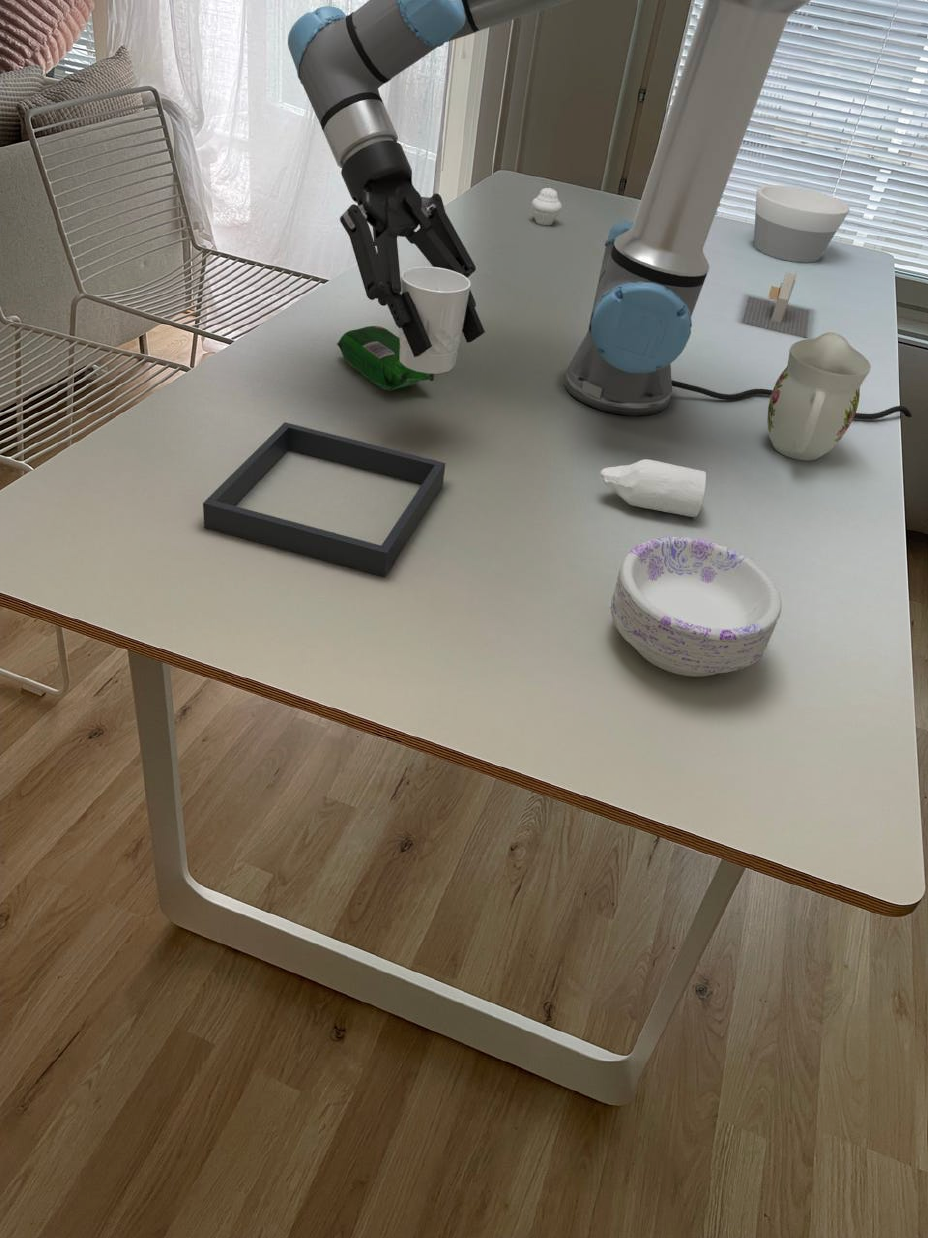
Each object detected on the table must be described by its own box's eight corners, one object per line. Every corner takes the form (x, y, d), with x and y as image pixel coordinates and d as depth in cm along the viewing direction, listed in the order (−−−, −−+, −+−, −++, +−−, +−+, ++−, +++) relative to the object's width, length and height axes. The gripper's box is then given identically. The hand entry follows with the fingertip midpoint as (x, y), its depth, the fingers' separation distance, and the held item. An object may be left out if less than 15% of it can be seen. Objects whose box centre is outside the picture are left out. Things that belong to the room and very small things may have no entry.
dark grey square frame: (442, 485, 113) (445, 462, 111) (385, 577, 98) (387, 552, 96) (284, 444, 116) (284, 421, 114) (203, 527, 100) (202, 502, 99)
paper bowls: (656, 713, 87) (679, 646, 82) (576, 610, 97) (592, 545, 92) (789, 681, 93) (818, 617, 88) (699, 588, 103) (721, 525, 98)
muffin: (527, 224, 198) (533, 188, 194) (530, 216, 203) (536, 181, 199) (557, 229, 198) (563, 193, 194) (559, 221, 203) (565, 186, 199)
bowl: (842, 271, 200) (862, 218, 193) (752, 260, 199) (769, 205, 192) (817, 242, 215) (834, 191, 208) (733, 231, 214) (748, 179, 207)
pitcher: (747, 468, 126) (781, 370, 117) (762, 414, 140) (794, 322, 131) (832, 492, 124) (873, 393, 115) (839, 435, 137) (876, 343, 129)
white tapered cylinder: (595, 483, 118) (605, 442, 114) (692, 501, 118) (705, 460, 114) (593, 508, 113) (603, 466, 110) (694, 527, 113) (708, 485, 109)
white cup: (392, 345, 118) (399, 263, 112) (457, 351, 119) (467, 269, 113) (395, 373, 112) (402, 288, 105) (462, 379, 113) (473, 294, 107)
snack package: (390, 405, 127) (394, 368, 124) (331, 357, 137) (333, 321, 133) (435, 397, 131) (439, 361, 128) (374, 350, 140) (377, 315, 137)
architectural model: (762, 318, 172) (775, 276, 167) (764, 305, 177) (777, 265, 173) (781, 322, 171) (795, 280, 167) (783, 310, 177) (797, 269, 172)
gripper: (418, 166, 119) (492, 340, 120) (280, 182, 106) (364, 375, 108) (453, 130, 113) (530, 314, 115) (311, 142, 100) (400, 348, 102)
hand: (450, 344), depth 111 cm, fingers closed on white cup, 8 cm apart
